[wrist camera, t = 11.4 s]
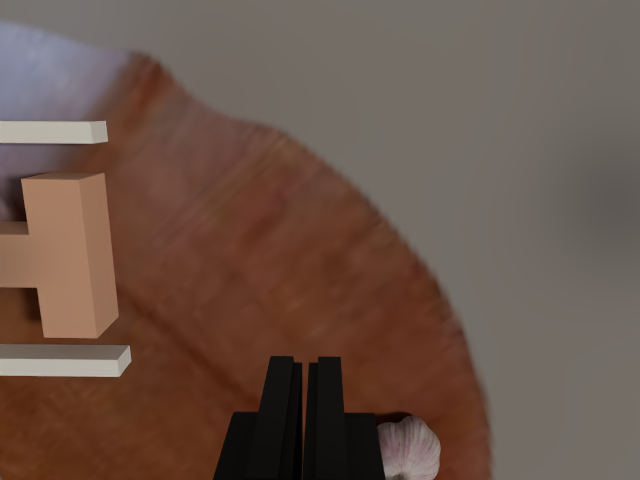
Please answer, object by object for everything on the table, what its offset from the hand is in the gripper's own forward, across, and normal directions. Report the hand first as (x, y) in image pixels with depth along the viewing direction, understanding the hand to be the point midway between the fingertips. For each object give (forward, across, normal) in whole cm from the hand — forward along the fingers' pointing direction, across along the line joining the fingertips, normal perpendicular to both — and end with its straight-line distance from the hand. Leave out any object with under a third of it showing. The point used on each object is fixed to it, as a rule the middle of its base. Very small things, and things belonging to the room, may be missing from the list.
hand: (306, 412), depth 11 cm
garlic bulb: (+27, -7, +22) cm, 36 cm away
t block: (+27, +23, +4) cm, 36 cm away
